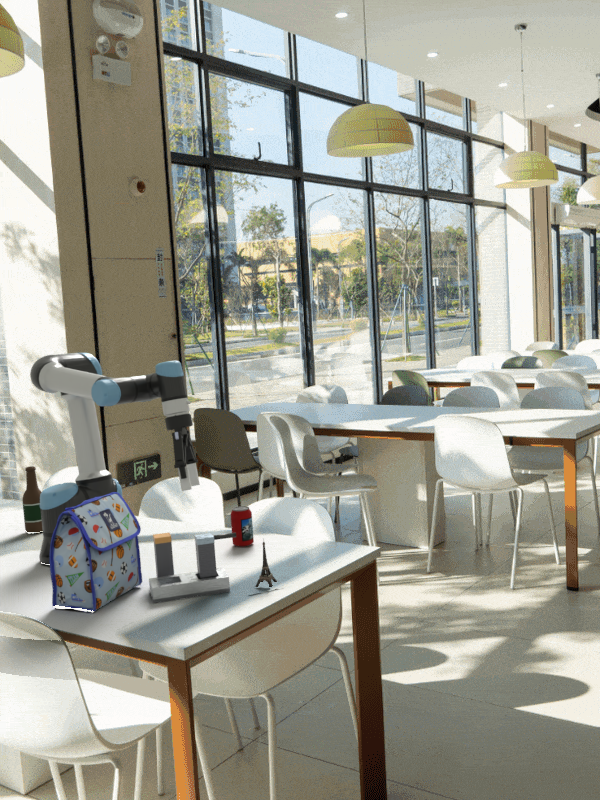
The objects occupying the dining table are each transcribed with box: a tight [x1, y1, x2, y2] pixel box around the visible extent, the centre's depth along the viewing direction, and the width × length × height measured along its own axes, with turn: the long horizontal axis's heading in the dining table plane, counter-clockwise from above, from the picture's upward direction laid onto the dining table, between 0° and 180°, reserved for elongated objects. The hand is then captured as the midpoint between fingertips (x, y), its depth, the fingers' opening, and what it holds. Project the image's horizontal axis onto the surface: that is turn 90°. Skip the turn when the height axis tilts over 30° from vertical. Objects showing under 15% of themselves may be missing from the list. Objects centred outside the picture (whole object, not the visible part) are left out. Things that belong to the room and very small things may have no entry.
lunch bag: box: [49, 492, 143, 612], centre depth 218 cm, size 23×17×27 cm
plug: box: [152, 532, 175, 577], centre depth 227 cm, size 4×4×14 cm
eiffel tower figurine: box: [254, 538, 278, 587], centre depth 220 cm, size 15×10×13 cm
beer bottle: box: [22, 466, 43, 532], centre depth 300 cm, size 8×8×24 cm
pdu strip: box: [148, 532, 236, 604], centre depth 219 cm, size 9×24×15 cm, turn 106°
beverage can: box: [230, 505, 254, 548], centre depth 263 cm, size 7×7×12 cm
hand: (191, 488), depth 236 cm, fingers open, 13 cm apart
